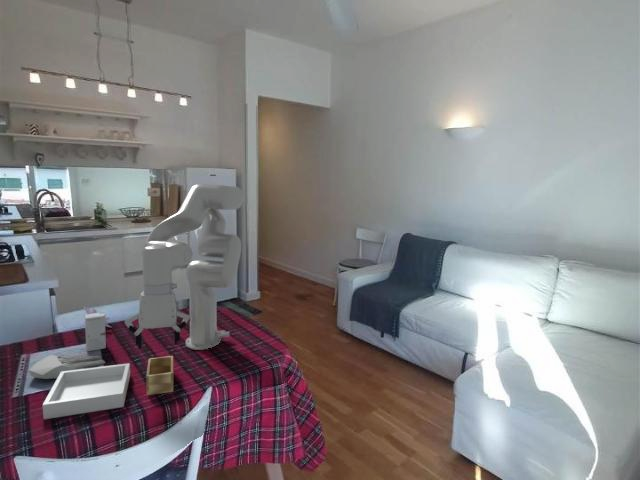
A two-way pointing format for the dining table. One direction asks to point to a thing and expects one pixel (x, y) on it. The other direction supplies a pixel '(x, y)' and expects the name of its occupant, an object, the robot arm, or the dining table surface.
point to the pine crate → (159, 375)
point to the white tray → (87, 391)
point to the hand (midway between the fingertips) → (158, 345)
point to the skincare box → (95, 331)
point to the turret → (61, 365)
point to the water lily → (96, 312)
